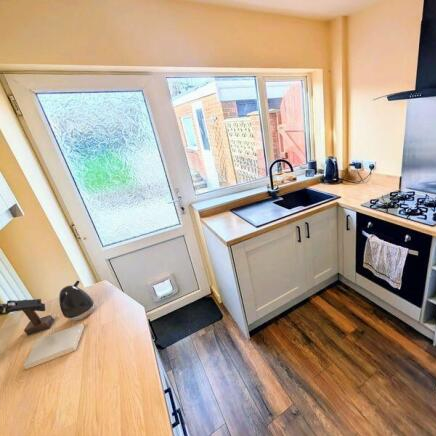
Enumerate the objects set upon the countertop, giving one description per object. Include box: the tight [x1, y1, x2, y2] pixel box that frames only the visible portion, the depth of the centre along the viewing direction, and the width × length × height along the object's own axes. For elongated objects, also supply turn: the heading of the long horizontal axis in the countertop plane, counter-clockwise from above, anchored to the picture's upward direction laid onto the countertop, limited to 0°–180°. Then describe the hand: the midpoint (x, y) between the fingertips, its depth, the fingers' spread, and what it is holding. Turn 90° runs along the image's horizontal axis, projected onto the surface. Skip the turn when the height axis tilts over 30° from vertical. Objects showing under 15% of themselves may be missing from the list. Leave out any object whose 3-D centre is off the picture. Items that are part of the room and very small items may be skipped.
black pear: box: [58, 280, 95, 321], centre depth 102 cm, size 10×10×15 cm
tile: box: [22, 323, 85, 370], centre depth 91 cm, size 14×12×2 cm
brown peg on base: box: [22, 309, 55, 337], centre depth 98 cm, size 7×5×14 cm
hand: (21, 314), depth 93 cm, fingers open, 13 cm apart
